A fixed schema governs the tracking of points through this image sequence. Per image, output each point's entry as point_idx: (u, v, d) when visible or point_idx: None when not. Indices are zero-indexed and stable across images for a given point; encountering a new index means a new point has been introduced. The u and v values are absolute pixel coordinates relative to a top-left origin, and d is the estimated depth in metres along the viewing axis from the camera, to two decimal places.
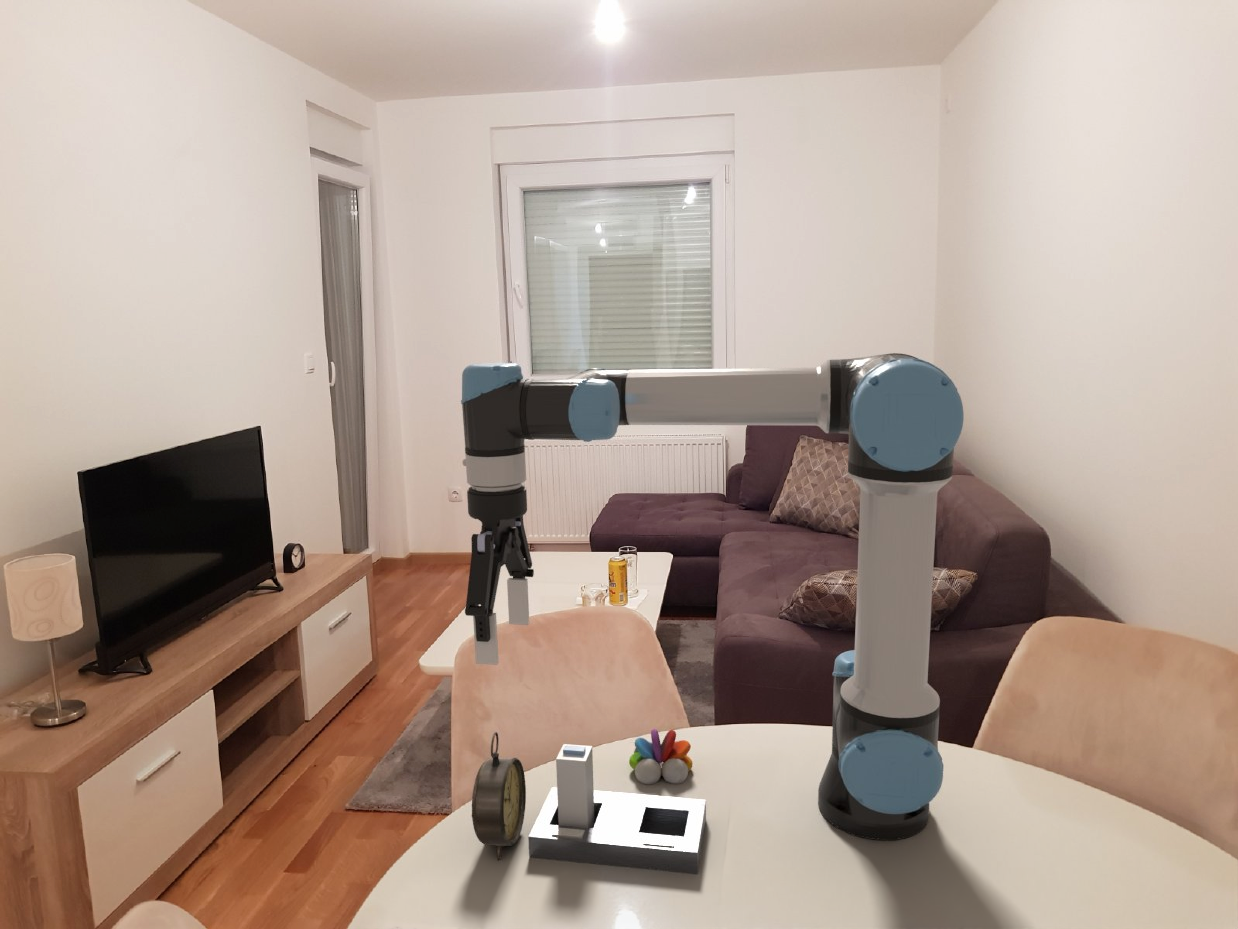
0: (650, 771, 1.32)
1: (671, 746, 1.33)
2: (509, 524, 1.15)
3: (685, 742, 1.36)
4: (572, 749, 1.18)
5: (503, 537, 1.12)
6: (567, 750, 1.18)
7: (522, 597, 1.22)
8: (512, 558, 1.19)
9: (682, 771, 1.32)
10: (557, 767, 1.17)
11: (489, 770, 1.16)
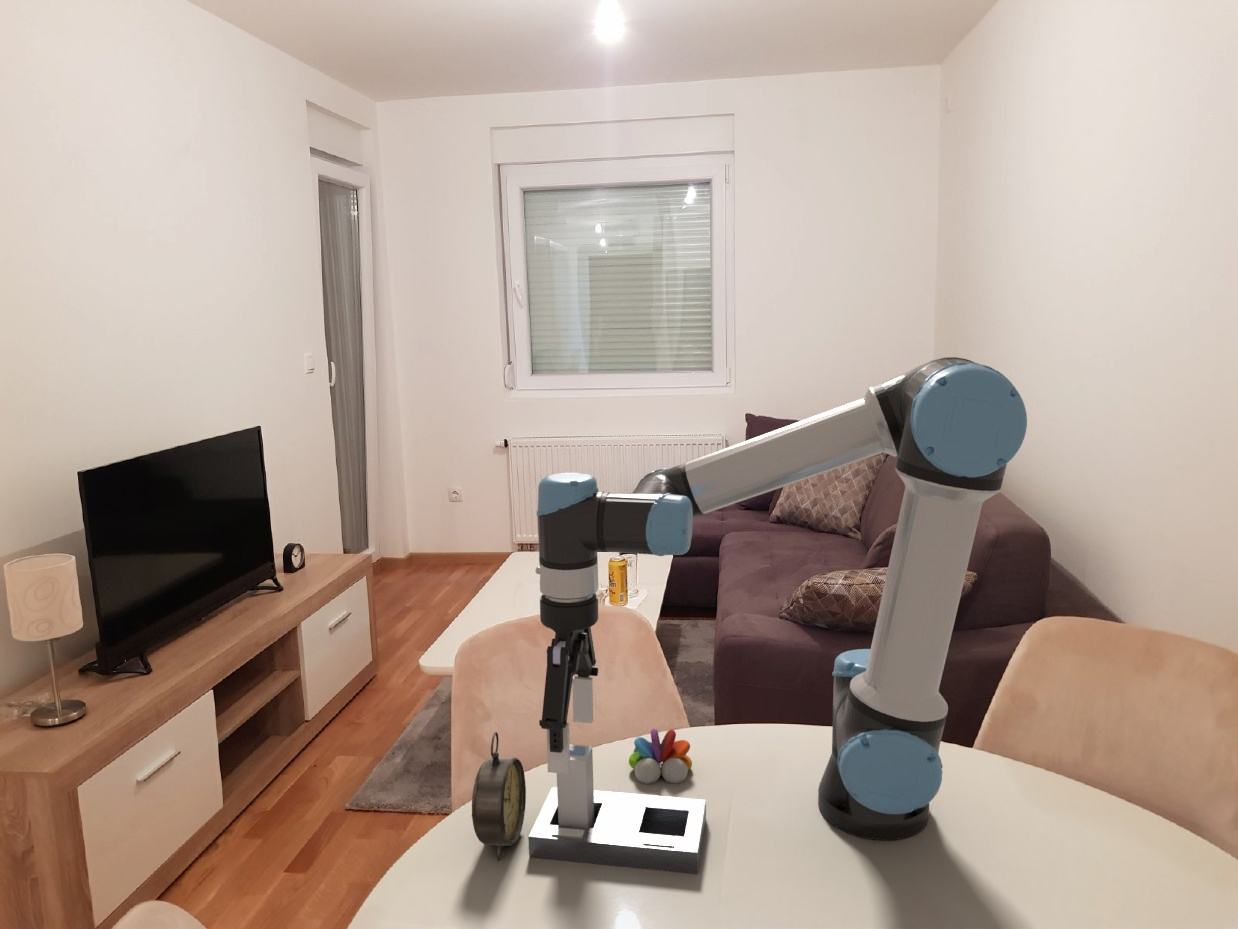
0: (650, 770, 1.32)
1: (671, 746, 1.34)
2: (579, 630, 1.16)
3: (685, 742, 1.36)
4: (572, 749, 1.18)
5: (575, 645, 1.13)
6: None
7: (587, 696, 1.23)
8: (579, 660, 1.20)
9: (682, 771, 1.32)
10: None
11: (489, 770, 1.16)
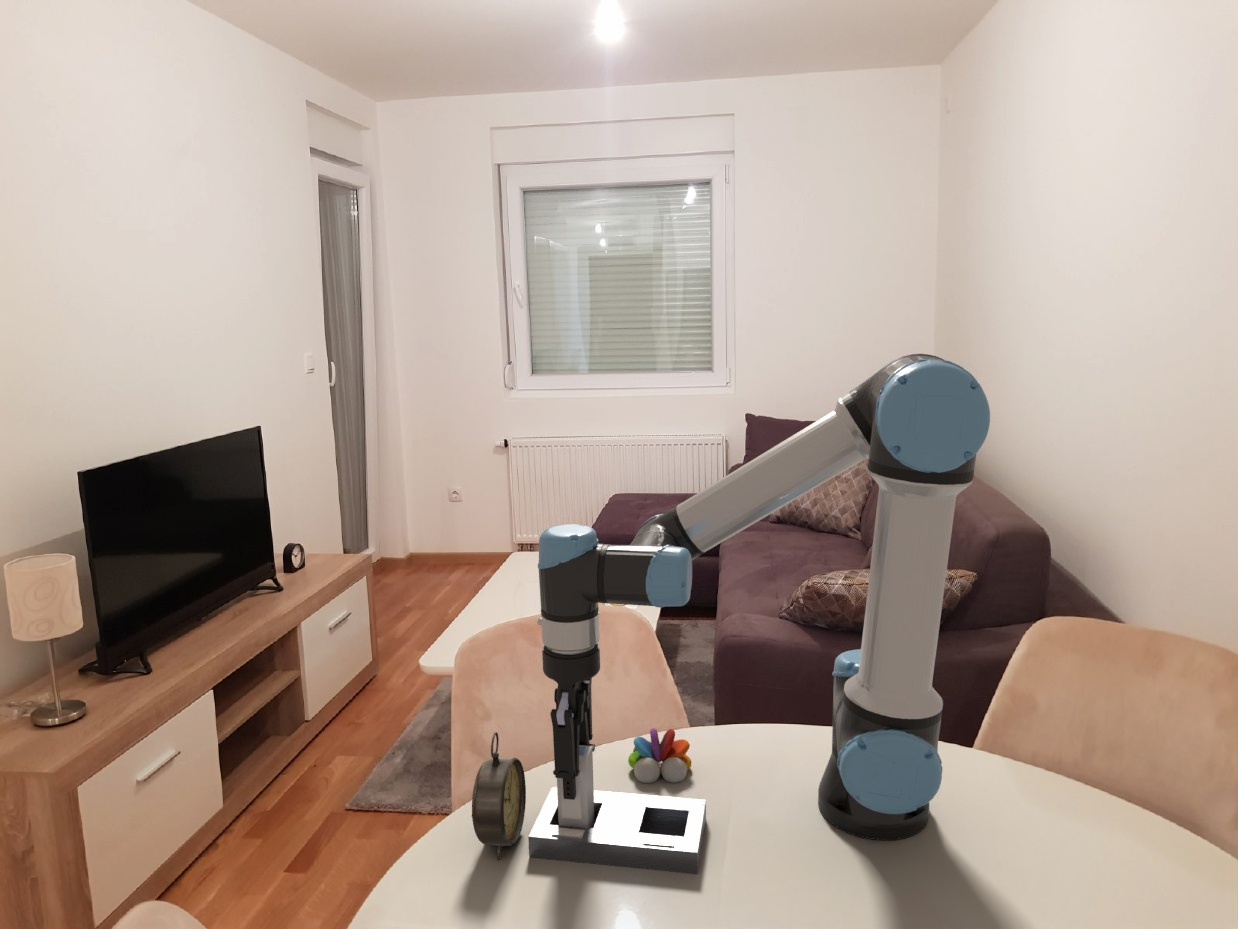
0: (650, 770, 1.32)
1: (670, 745, 1.34)
2: None
3: (684, 741, 1.36)
4: None
5: (577, 698, 1.15)
6: None
7: None
8: None
9: (681, 770, 1.32)
10: None
11: (489, 770, 1.16)
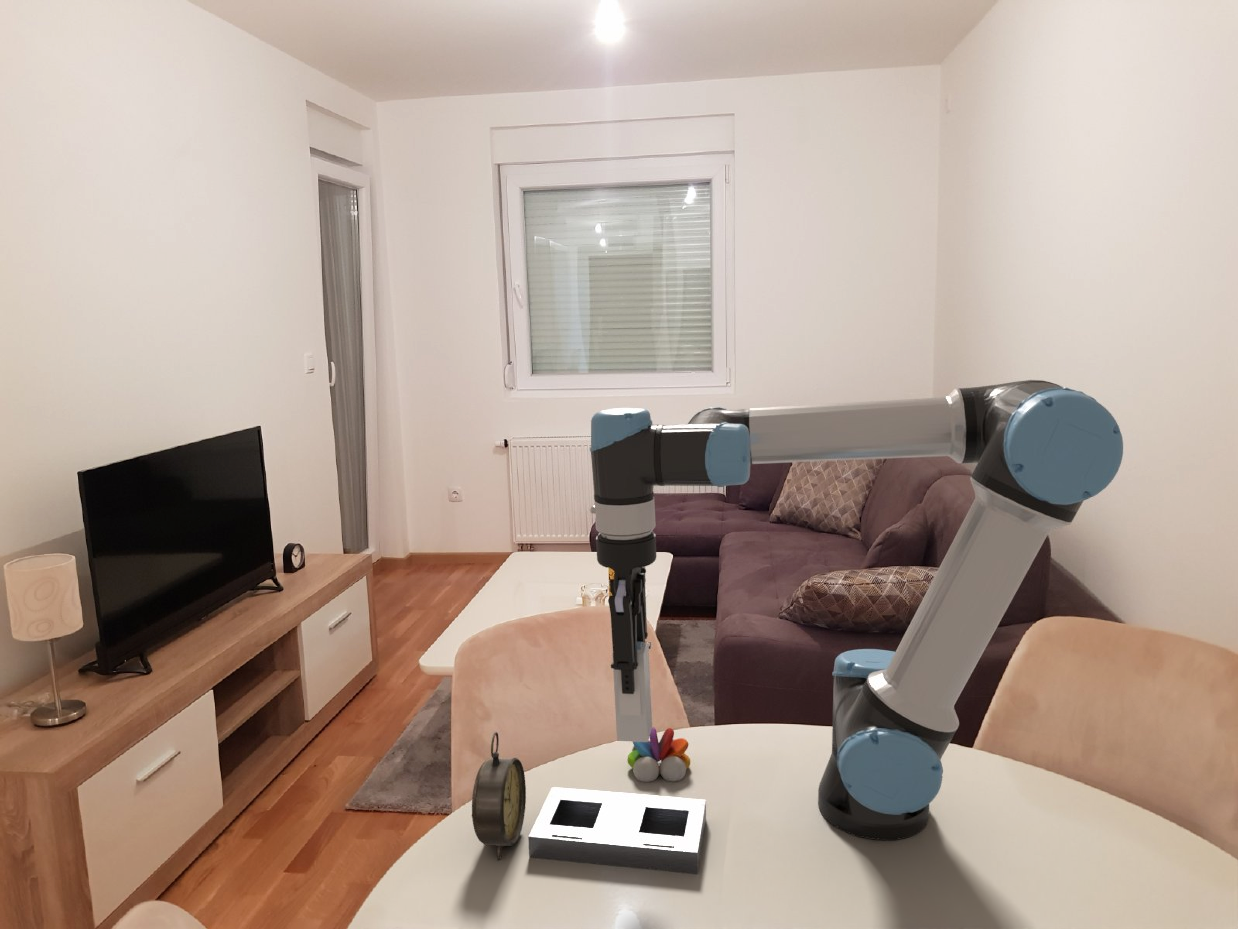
0: (649, 769, 1.32)
1: (669, 744, 1.34)
2: None
3: (683, 740, 1.36)
4: None
5: (634, 587, 1.10)
6: None
7: None
8: None
9: (680, 769, 1.33)
10: None
11: (489, 770, 1.16)
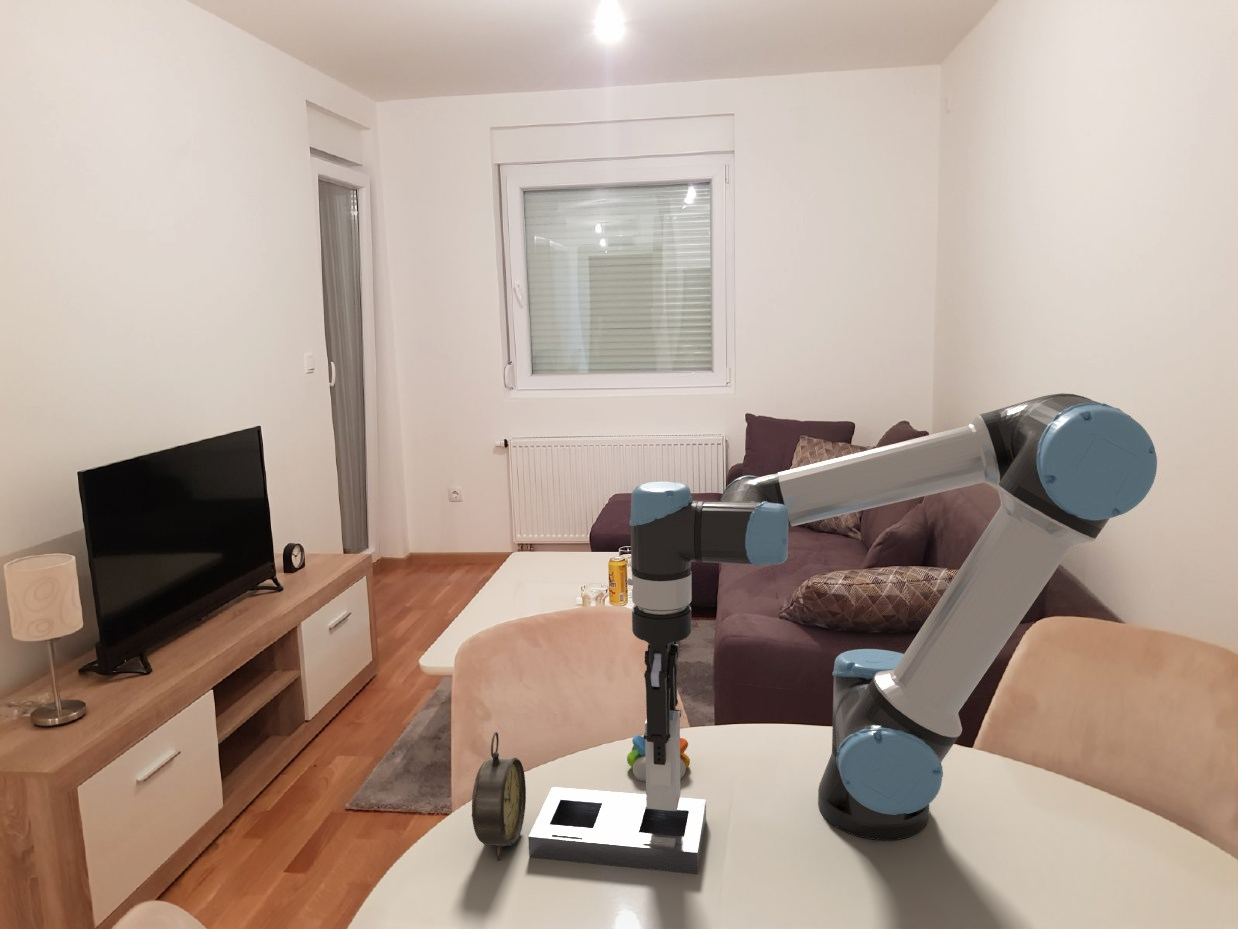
0: None
1: None
2: None
3: (682, 740, 1.36)
4: None
5: (669, 660, 1.11)
6: None
7: None
8: None
9: (680, 768, 1.33)
10: (646, 732, 1.14)
11: (489, 770, 1.16)
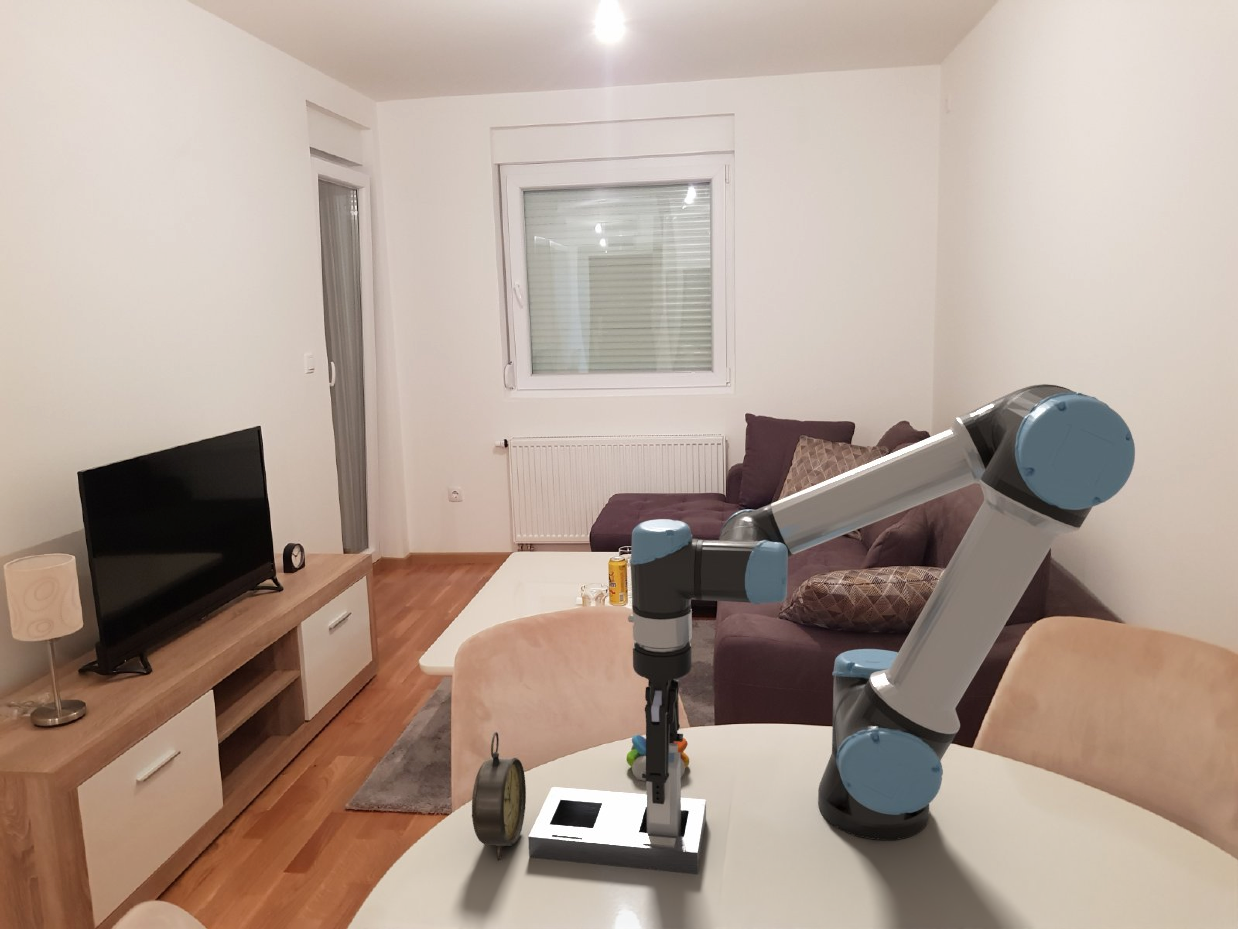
0: None
1: None
2: None
3: None
4: None
5: (669, 696, 1.12)
6: None
7: None
8: (667, 716, 1.18)
9: None
10: None
11: (489, 770, 1.16)
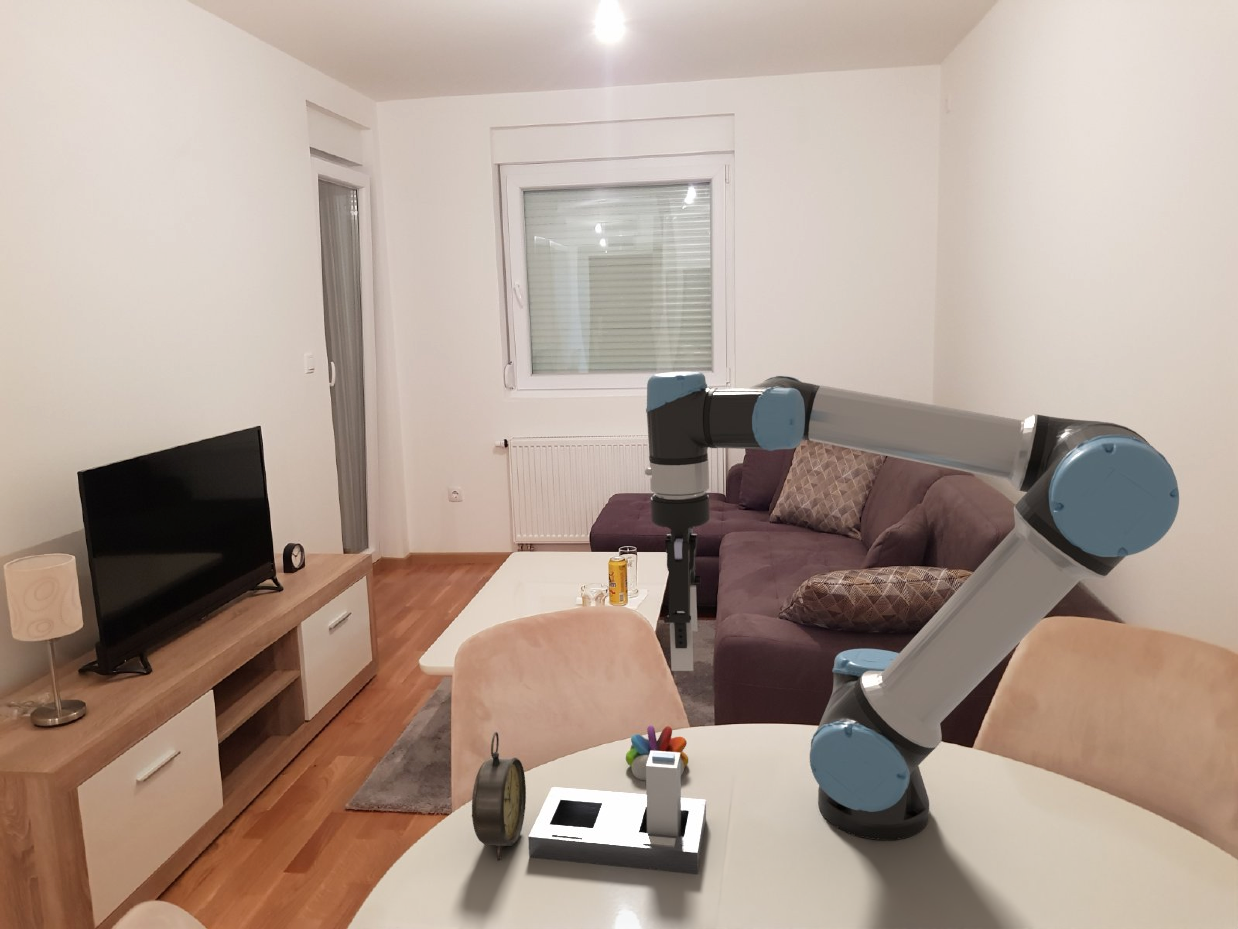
0: None
1: (667, 742, 1.35)
2: None
3: (681, 738, 1.37)
4: (661, 756, 1.16)
5: (689, 544, 1.13)
6: (656, 757, 1.16)
7: (692, 604, 1.23)
8: None
9: None
10: (647, 774, 1.15)
11: (489, 770, 1.16)
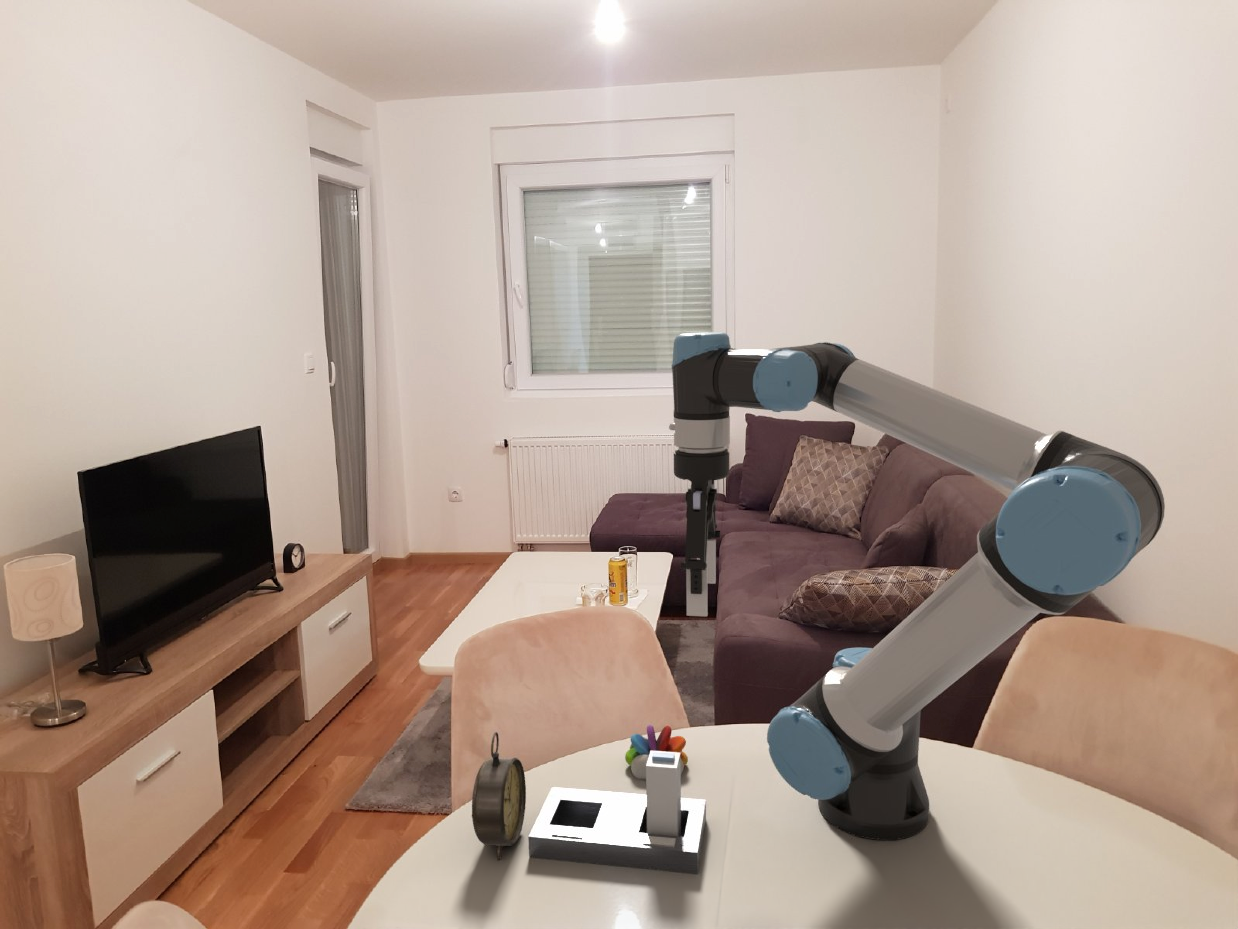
0: None
1: (667, 742, 1.35)
2: (710, 485, 1.21)
3: (680, 738, 1.37)
4: (661, 756, 1.16)
5: (709, 496, 1.19)
6: (656, 757, 1.16)
7: (711, 557, 1.29)
8: None
9: None
10: (647, 774, 1.15)
11: (489, 770, 1.16)
